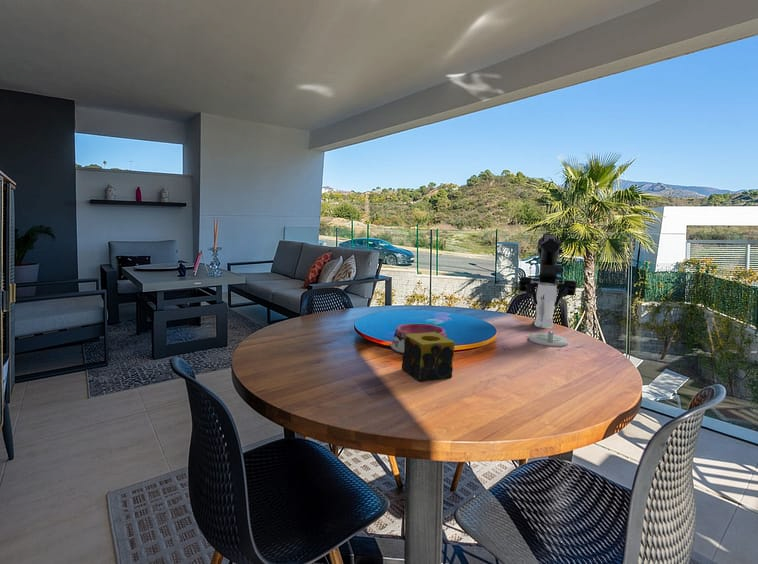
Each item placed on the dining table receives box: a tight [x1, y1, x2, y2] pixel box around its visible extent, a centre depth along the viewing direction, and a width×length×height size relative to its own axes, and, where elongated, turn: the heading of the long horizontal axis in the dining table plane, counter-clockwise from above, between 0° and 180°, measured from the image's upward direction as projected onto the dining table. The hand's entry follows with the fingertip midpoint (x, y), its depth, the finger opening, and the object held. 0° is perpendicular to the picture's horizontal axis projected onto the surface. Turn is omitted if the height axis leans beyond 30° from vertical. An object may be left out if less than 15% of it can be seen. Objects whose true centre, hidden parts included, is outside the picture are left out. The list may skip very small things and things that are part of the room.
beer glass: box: [534, 282, 559, 329], centre depth 146 cm, size 7×7×15 cm
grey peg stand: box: [528, 331, 569, 348], centre depth 148 cm, size 13×13×5 cm
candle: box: [401, 332, 456, 383], centre depth 110 cm, size 10×10×10 cm
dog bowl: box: [390, 323, 448, 356], centre depth 133 cm, size 18×19×7 cm
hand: (545, 305), depth 145 cm, fingers closed on beer glass, 7 cm apart
